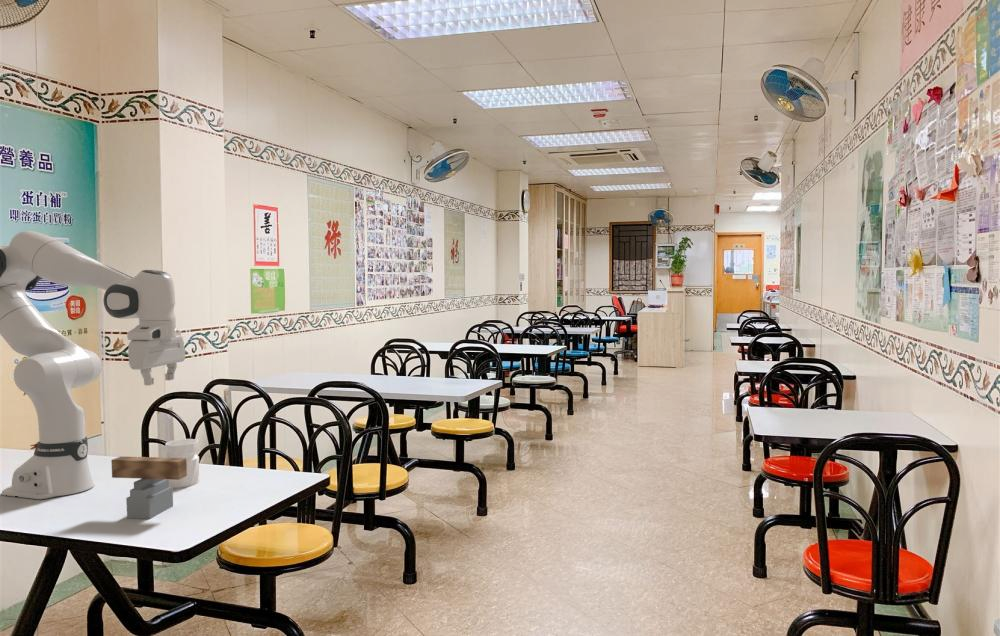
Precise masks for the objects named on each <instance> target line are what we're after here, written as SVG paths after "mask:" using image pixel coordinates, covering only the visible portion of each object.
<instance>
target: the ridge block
mask: <svg viewBox="0 0 1000 636" xmlns="http://www.w3.org/2000/svg"><path fill="white" fill-rule="evenodd" d="M173 488H174V487H169V479H141V478H139V479H138V480H135V481H134V482H133V488H131V489H130V490H129V496H127V497H126V501H125V502H126V518H127V519H142V520H143V519H145V520H146V519H147V520H150V519H152V518H154V517H156V516H157V515H159V514H162V513H163V512H165V511H167V510H169V509H170V508H172V507H173V506H174V491H173V490H174V489H173Z"/></svg>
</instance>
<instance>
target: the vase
mask: <svg viewBox="0 0 1000 636" xmlns="http://www.w3.org/2000/svg"><path fill="white" fill-rule="evenodd" d="M164 447H165V449H164V451H165V453H166V454H167V455H168V456H169V457H167V458H186V464H187V476H185V477H183V478H181V479H179V480H174V479H169V487H173V488H187V487H192V486H194V485H197V484H199V483H200V482H201V481H200V480H201V476H200V456H199V455H198V454H196V452H198V451H199V440H198V439H197V438H196V439H195V438H194V439H193V438H181V439H175V440H174V439H172V440H169V441H167V442H166V443H165V446H164Z"/></svg>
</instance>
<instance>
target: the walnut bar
mask: <svg viewBox="0 0 1000 636" xmlns="http://www.w3.org/2000/svg"><path fill="white" fill-rule="evenodd" d="M110 461H111V478H113V479H117V478H118V479H174V480H179V479H181V478H183V477H185V476H187V464H186V458H168V457H154V456H153V457H151V456H149V457H148V456H147V457H146V456H118V457H116V458H112V459H111V460H110Z"/></svg>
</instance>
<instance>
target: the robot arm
mask: <svg viewBox="0 0 1000 636" xmlns="http://www.w3.org/2000/svg"><path fill="white" fill-rule="evenodd" d="M41 280H45V281H47V282H51V283H52V284H57V285H61V286H67V287H68V286H70V287H71V286H72V287H73V286H74V287H75V286H76V287H89V288H96V289H101V290H104V291H105V292H104V295H103V307H104V309H105V311H106V312H107V313H108V315H110V317H113V318H114V319H121V320H122V319H123V320H125V319H126V320H127V319H128V320H129V319H138V325H136V326H135V327H134V328H132V329H130V330H128V331H127V340H128V341H129V343H128V348H127V349H128V350H127V351H128V352H127V353H128V364H129V367H130V368H131V369H132V370H135V371H137V370H140V375H141V377H142V378H143V385H144V386H153V385H155V382H154V377H152V374H151V372H152V368H157V367H161V366H166V368H167V370H166V373H164V377H165V378H164V379H165V381H172V380H173V381H174V380H175V372H176V370H177V367H178V366H177V364H178V363H182V362H184V361H185V360H186V359H185V358H186V351H185V350H186V349H185V342H184V338H183V336H182V334H181V332H180V330H179V329H178V328H177V324H176V323H177V322H176V321H177V319H176V315H175V311H174V309H175V306H176V294H175V286H174V285H175V284H174V280H173V278H172V276H171V275H170V274H169V273H168V272H166V271H162V270H155V269H154V270H153V269H143V270H141V271H139V272H138V273H137V274H136V275H135V276H134V277H132V276H131V275H128V274H127V273H124V272H121V271H120V270H117V269H116V268H113V267H110V266H108V265H106V264H103V263H102V262H100V261H99V260H96V259H94V258H92V257H90V256H89V255H86V254H85V253H82V251H79V250H77V249H75V248H74V247H72V246H70V245H69V244H66V243H65V242H62V241H60V240H59V239H57V238H55V237H52V236H50V235H47V234H45V233H43V232H42V233H41V232H38V231H35V230H23V231H20V232H18V233H17V234H15V235H14V236H13V237H12V239H11V241H9V245H3V246H0V337H2V338H3V339H4V341H5V342H6V343H7V344H8V345H9V347H10V348H11V349H12V350H13V351H14V352H15V353H18V354H19V355H23V356H25V357H26V358H24V359H22V360H20V361H19V362H18V363H17V364H16V366H14V370H13V380H14V383H15V385H16V387H17V388H18V389H19V390H20V391H21V392H23V393H25V394H26V395H27V396H28V398H29V399H30V400H31V403H32V404H33V406H34V408H35V409H34V410H35V412H36V416H37V423H38V426H37V427H38V437H39V438H38V440H39V441H38V442H36V443H35V444H30V447H31V448H30V450H33V449H34V452H33V455H31V457H30V458H28V459H27V460H26V461H25V462H24V463H22V464H20V466H18V467H17V468H16V469H15V470H14V472H12V473H13V474H12V478H11V485H10V486H8V487H6V488H5V489H3V490H2V491H1V496H6V495H7V496H9V497H15V496H18V497H17V498H25V499H34V500H46V499H49V498H54V497H62V496H68V495H69V496H70V495H73V494H78V493H81V492H86V491H88V490H90V489H92V488H94V486H95V483H94V481H93V478H92V475H91V470H90V467H89V461H88V450H89V443H88V441H89V440H88V437H87V436H86V416H85V410H84V408H83V407H82V406H81V405H79V404H76V401H74V398H73V396H72V394H71V389H74V388H75V389H76V388H81V387H83V386H86V385H88V384H90V383H91V382H93V381H94V382H95V380H97V379H98V378H99V377H100V375H101V373H102V370H103V366H102V365H103V364H102V361H101V360H102V359H100V357H99V355H98V354H96V352H94V351H92V350H89V349H86V348H84V347H81V346H80V345H78V344H76V343H75V342H73V341H72V340H70V339H69V338H67V336H65V335H63V334H62V333H61V332H59V331H58V330H57V329H56V328H54V327H53V325H51V324H50V323H49V321H48V320H47V319H46V318H45V317H44V316H43V314H41V312H40V311H39V309H37V308H36V306H35V305H34V304H33V302H31V301H30V300H29V298H28V297H27V294H26V291H31V290H33V289H35V288H36V286H37V284H38V283H39V282H40V281H41ZM7 496H6V497H7Z"/></svg>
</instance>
